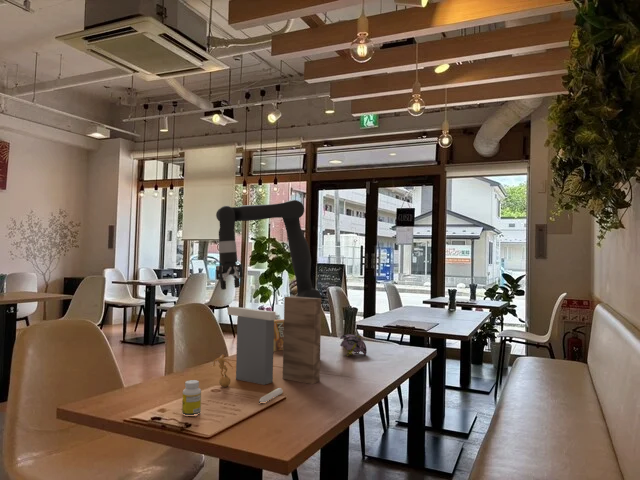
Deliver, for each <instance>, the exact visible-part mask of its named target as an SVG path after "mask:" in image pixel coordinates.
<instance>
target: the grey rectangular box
mask: <svg viewBox="0 0 640 480" xmlns="http://www.w3.org/2000/svg"><path fill="white" fill-rule="evenodd" d="M236 319H237V325H236V360H235V362H236V364H235V366H236V367H235V380H238V381H244V382H248V383H254V384H258V385H265V386H266V385H268V384H271V383H273V382H274V380H273V379H274V378H273V377H274V351H273V347H274V320H263V319H256V318H249V317H242V316H237V318H236Z"/></svg>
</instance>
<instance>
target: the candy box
mask: <svg viewBox="0 0 640 480" xmlns="http://www.w3.org/2000/svg"><path fill="white" fill-rule="evenodd" d="M283 341H284V318H282V319H275V320H274V347H273V352H279V351H283Z"/></svg>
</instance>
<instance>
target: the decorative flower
mask: <svg viewBox="0 0 640 480" xmlns="http://www.w3.org/2000/svg"><path fill="white" fill-rule="evenodd" d="M339 339H340V340H342V339H343V340H342V342H341V343H340V345H339V346H341V347H344V348H345V349H346V351H347V352H346V357H347V356H349V357H350V356H353V355H354V354H353V353H354V352H358V353H357V354H360V352H361V353H363V356H364V355H365V356H364V357H366V356H367V346H366V343H365V341H364V340H363V339H362V338H361V336H360V335H358V334H357V335H356V334H352V333H348V334H347V333H346V334H343V335H341V336H340V338H339Z"/></svg>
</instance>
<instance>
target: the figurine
mask: <svg viewBox="0 0 640 480" xmlns="http://www.w3.org/2000/svg"><path fill="white" fill-rule="evenodd" d="M217 361H218V364H219V365H218V367H219V369H221V370H220V375H221V377H220V378H219V385H220V386H221V387H223V388H226V387H228V386H229V385H230V384H231V378H230V377H229V376H228V375H227V374H226V373H227V371H228V368H227V366H226V364H225V363H227V364H228V365H229V366H230V368H231V369H232V370H234V367H233V366H232V364H231V363H230V362H229V361H228V360H226V359H225V355H224V354H221V355H220V356H219V357H217V358H215V359H214V360H213V367H216V364H215V363H216V362H217ZM223 371H224V372H223Z"/></svg>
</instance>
